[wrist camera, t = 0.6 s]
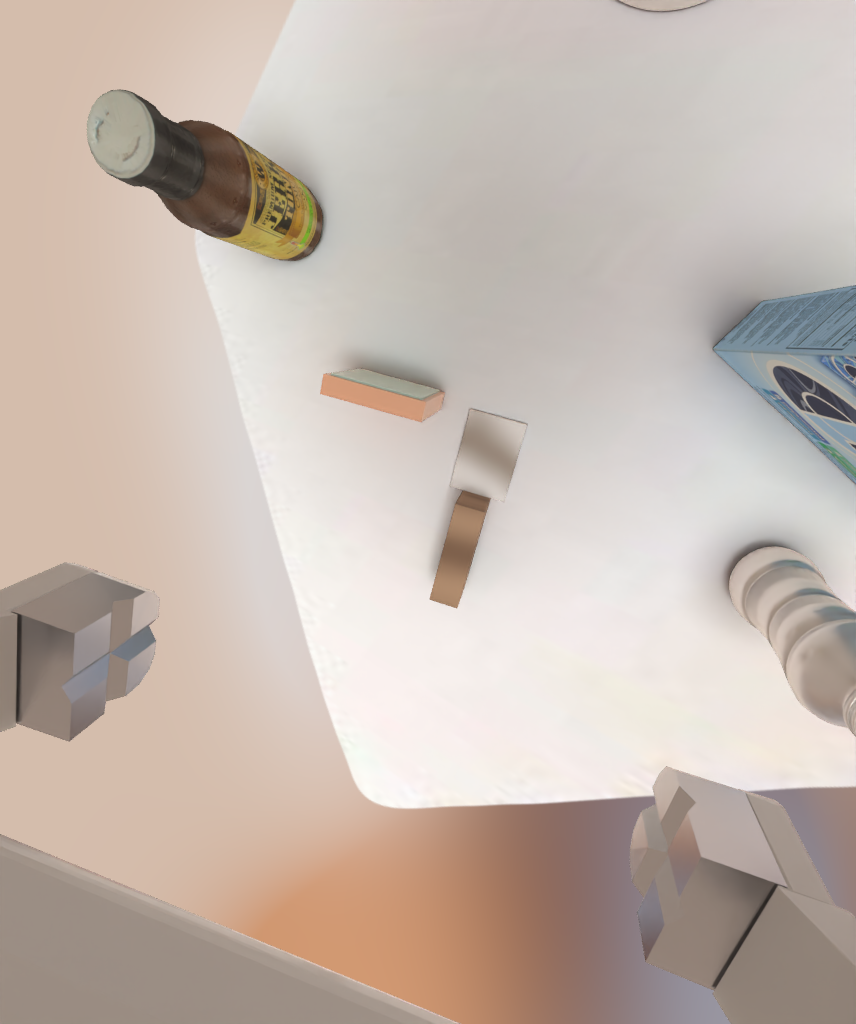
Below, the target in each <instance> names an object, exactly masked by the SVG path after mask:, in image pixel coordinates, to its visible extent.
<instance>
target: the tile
mask: <svg viewBox="0 0 856 1024" xmlns="http://www.w3.org/2000/svg"><path fill="white" fill-rule="evenodd" d="M320 394H323V395H326V396H330V397H334V398H337V399H341V400H344V401H348V402H351V403H355V404H358V405H362V406H366V407H369V408H373V409H376V410H380V411H383V412H387V413H390V414H394V415H398V416H401V417H405V418H408V419H412V420H415V421H419V422H422V421H424V420H425V419H427V418H429V417H430V416H432V415H433V414H435V413H436V412H438V411H440V410H441V408H442V404H443V400H444V395H445V392H441V391H440V390H439V389H435V388H431V387H428V386H424V385H420V384H417V383H413V382H409V381H406V380H402V379H398V378H395V377H391V376H387V375H384V374H380V373H376V372H373V371H369V370H365V369H362V368H361V369H353V370H346V371H340V372H333V373H326V374H324V375H323V381H322V386H321V392H320Z"/></svg>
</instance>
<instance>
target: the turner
mask: <svg viewBox="0 0 856 1024" xmlns="http://www.w3.org/2000/svg"><path fill="white" fill-rule="evenodd" d="M527 425H528V424H525V423H521V422H517V421H514V420H510V419H506V418H503V417H499V416H495V415H492V414H488V413H485V412H481V411H477V410H474V409H470V412H469V415H468V419H467V423H466V427H465V430H464V434H463V438H462V442H461V446H460V449H459V453H458V457H457V461H456V464H455V468H454V472H453V476H452V480H451V483H450V487H454V488H457V489H460V490H463V491H462V493H461V495H460V497H459V498H458V500H457V502H456V504H455V507H454V511H453V515H452V518H451V522H450V526H449V529H448V533H447V537H446V540H445V544H444V548H443V552H442V555H441V559H440V563H439V566H438V570H437V574H436V577H435V581H434V585H433V588H432V592H431V596H430V599H429V600H433V601H436V602H439V603H442V604H445V605H448V606H451V607H455V608H457V607H458V604H459V601H460V599H461V596H462V593H463V590H464V587H465V584H466V580H467V577H468V574H469V570H470V567H471V563H472V560H473V557H474V553H475V550H476V546H477V543H478V539H479V536H480V533H481V529H482V526H483V522H484V519H485V515H486V512H487V509H488V505H489V502H490V498H491V499H495V500H498V501H501V502H504V501H505V498H506V494H507V491H508V488H509V484H510V481H511V478H512V475H513V471H514V468H515V465H516V461H517V458H518V455H519V451H520V448H521V445H522V441H523V438H524V435H525V431H526V428H527Z"/></svg>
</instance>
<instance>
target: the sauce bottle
mask: <svg viewBox="0 0 856 1024" xmlns="http://www.w3.org/2000/svg"><path fill="white" fill-rule="evenodd" d="M87 136H88V143H89V146H90V149H91V153H92V154H93V156H94V158H95V160H96V162H97V163H98V164H99V166H100V167H101V168H102V169H103V170H104V171H106V172H107V173H108V174H109V175H111V176H113V177H115V178H118V179H119V180H121V181H123V182H125V183H127V184H130V185H132V186H140V187H142V186H145V187H147V188H149V189H151V190H153V191H154V192H156V193H157V194H158V196H159V197H160V198H161V200H162V202H163V203H164V204H165V206H166V208H167V209H168V210H169V211H170V212H171V213H172V214H173V215H174V216H175V217H176V218H177V219H178V220H180V221H181V222H182V223H184V224H186V225H188V226H189V227H191V228H195V229H197V230H200V231H202V232H203V233H205V234H207V235H209V236H212V237H214V238H217V239H220V240H223V241H226V242H229V243H232V244H234V245H237V246H240V247H243V248H245V249H248V250H251V251H254V252H257V253H259V254H262V255H265V256H267V257H270V258H273V259H279V260H288V261H296V260H300V259H302V258H303V257H306V256H308V255H309V254H310V253H311V252H312V251H313V250H314V247H315V246H316V245H317V243H318V242H319V239H320V235H321V230H322V211H321V208H320V206H319V204H318V202H317V200H316V199H315V197H314V196H313V194H312V193H311V191H310V190H309V189H308V188H307V187H306V186H305V185H304V184H303V183H302V182H301V181H299V180H298V179H297V178H295V177H294V176H292V175H291V174H289V173H288V172H286V171H285V170H284V169H282V168H281V167H280V166H278V165H277V164H275V163H274V162H272V161H271V160H269V159H268V158H266V157H265V156H264V155H262V154H261V153H259V152H258V151H256V150H255V149H253V148H252V147H250V146H249V145H248V144H246V143H245V142H243V141H242V140H241V139H239V138H238V137H236V136H235V135H233V134H232V133H230V132H229V131H226V130H223V129H222V128H220V127H218V126H215V125H214V124H211V123H208V122H202V121H193V120H189V121H183V122H179V123H176V122H172V121H171V120H169V119H168V118H166V117H164V116H162V115H161V113H160V112H159V111H158V110H157V109H156V107H155V106H154V105H152V104H151V103H149V102H148V101H147V100H145V99H143V98H142V97H140V96H138V95H136V94H135V93H133V92H130V91H126V90H111V91H109V92H107V93H105V94H103V95H102V96H100V97H99V98H98V99H97V101H96V102H95V103H94V105H93V106H92V109H91V111H90V114H89V117H88V121H87Z"/></svg>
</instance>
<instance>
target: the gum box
mask: <svg viewBox="0 0 856 1024" xmlns="http://www.w3.org/2000/svg"><path fill="white" fill-rule="evenodd" d="M713 350H714V351H715V352H716V353H717V354H718V355H719V356H720V357H721V358H722V359H723V360H724V361H725V362H726V363H728V364H729V365H730V366H731V367H732V368H733V369H734V370H735V371H736V372H737V373H738V374H739V375H740V376H741V377H742V378H743V379H744V380H745V381H746V382H748V383H749V384H750V385H751V386H752V387H753V388H754V389H755V390H756V391H757V392H758V393H759V394H760V395H761V396H763V397H764V398H765V399H766V400H767V401H768V402H769V403H770V404H771V405H772V406H773V407H775V408H776V409H777V410H778V411H779V412H780V413H781V414H782V415H783V416H784V417H786V418H787V419H788V420H789V421H790V422H791V423H792V424H793V425H794V426H795V427H796V428H797V429H799V430H800V431H801V432H802V433H803V434H804V435H805V436H806V437H807V438H808V439H809V440H810V441H811V442H812V443H813V444H814V445H816V446H817V447H818V448H819V449H820V450H821V451H822V452H823V453H824V454H825V455H826V456H827V457H828V458H829V459H830V460H831V461H832V462H833V463H834V464H835V465H836V466H838V467H839V468H840V469H841V470H842V471H843V472H844V473H845V474H846V475H847V476H848V477H849V478H850V479H851V480H852V481H853V482H854V483H855V484H856V285H855V286H849V287H843V288H837V289H832V290H826V291H820V292H815V293H808V294H803V295H797V296H791V297H785V298H779V299H773V300H766V301H762V302H761V303H760V304H759V305H758V306H757V307H756V308H755V309H754V310H753V311H752V312H751V313H749V314H748V315H747V316H746V317H745V318H744V319H743V320H742V321H741V322H740V323H739V324H738V325H737V326H736V327H735V328H734V329H733V330H732V331H730V332H729V333H728V334H727V335H726V336H725V337H724V338H723V339H722V340H721V341H720V342H719V343H718V344H717V345H716V346H715V347H714V348H713Z"/></svg>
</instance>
